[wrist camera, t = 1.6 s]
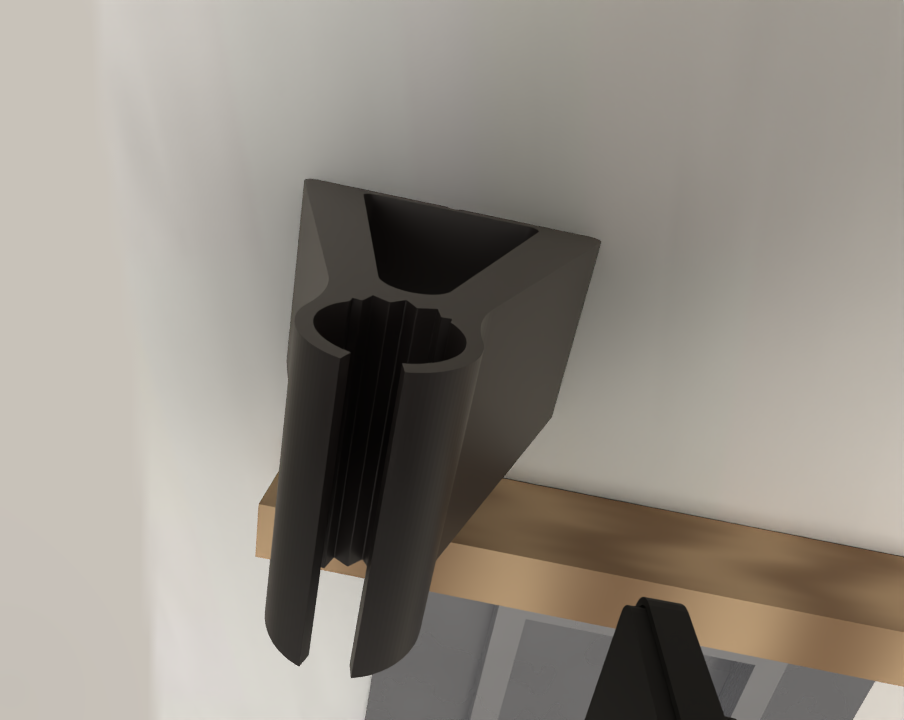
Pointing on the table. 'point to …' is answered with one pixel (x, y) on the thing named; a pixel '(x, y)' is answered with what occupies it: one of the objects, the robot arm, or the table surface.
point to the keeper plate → (570, 672)
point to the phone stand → (407, 396)
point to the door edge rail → (671, 576)
